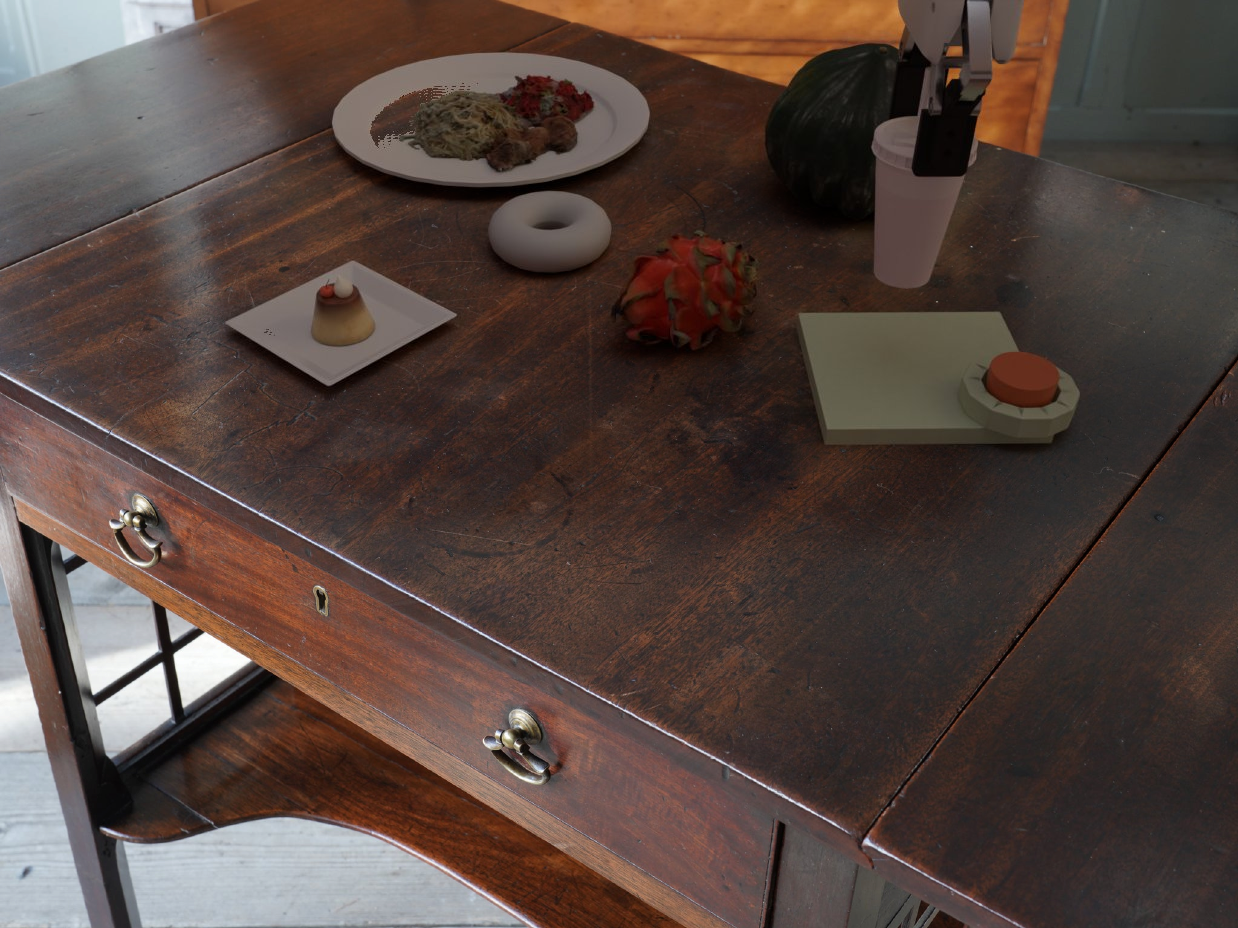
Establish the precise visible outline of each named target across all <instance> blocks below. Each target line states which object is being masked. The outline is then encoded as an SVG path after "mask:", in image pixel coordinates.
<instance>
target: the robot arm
mask: <svg viewBox="0 0 1238 928" xmlns="http://www.w3.org/2000/svg"><path fill="white" fill-rule="evenodd" d="M1024 3H1025V0H897V7H898V11H899V15H900V17H901V20H902V21H903V23H904V26H903V29H902V34H901V38H900V41H899V45H898V49H899V59H900V60H907V62H897V64H896V70H895V77H894V83H893V89H892V96H891V102H890V109H889V115H888V119H889V120H891V119H895V118H900V117H907V116H918V111H919V105H920V99H921V93H922V87H923V81H924V75H925V70H926V68H927V67H931V68H930V84H929V100H928V109H921V114H920V120H919V126H918V132H917V138H916V143H915V149H914V155H913V161H912V167H911V169H912V171H913V174H914V175H915V176H917V177H961V176H963V175H965V176H966V174H967V172H968V168H969V167H968V163H969V158H970V153H971V148H972V143H973V139H974V135H975V133H976V130H977V129H976V128H977V123H978V119H979V116H980V114H981V111H982V106H983V105H982V104H983V98H984V97H985V95H986V93H987V88H988V87H989V85H990V84H991V82H992V80H993V74H994V67H993V65H994V64H993V60H994V61H995V62H996V63H997V64H998V65H1006V64H1008V63H1009V62H1010V61H1011V60H1012V59H1013V58H1014V56H1015V53H1016V48H1017V44H1018V38H1019V32H1020V27H1021V22H1022V15H1023V10H1024ZM950 47H961V52H962V53H961V55H962V56H959V55H957V56H955V55H954V56H951V55H950V56H948V55H947V54H948V51H949V48H950ZM951 69H953V70H955V69H961V70H960V71H959V73H958V78H951V79H950V80H949V82H948V78H949V73H950V70H951ZM965 173H966V174H965Z"/></svg>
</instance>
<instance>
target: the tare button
mask: <svg viewBox="0 0 1238 928" xmlns="http://www.w3.org/2000/svg"><path fill="white" fill-rule="evenodd" d="M1055 366H1056V365H1055V364H1054V363H1052V362H1051V361H1050V360H1049V359H1046V358H1045V357H1043V356H1040V355H1037V354H1034V353H1031V352H1026V351H1019V352H1007V353H1003V354H1000V355H998V356H996V357H995V358H994V359H993V360H992V361H991V363H990V367H989V371H988V375H987V379H986V388H987V390H988V392H989V393H990V395H992V396H993V397H994V398H996V399H997V400H999V401H1000V402H1003V403H1006V404H1010V405H1013V406H1016V407H1020V408H1040V407H1043V406H1047V405H1049V404H1051V403H1052V402H1051V401H1052V400H1053V398H1054V395H1055V392H1056V388H1057V385H1058V381H1059V372H1058V370H1057V368H1058V367H1057V366H1056V367H1057V368H1056V367H1055Z"/></svg>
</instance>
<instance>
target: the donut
mask: <svg viewBox="0 0 1238 928" xmlns="http://www.w3.org/2000/svg"><path fill="white" fill-rule="evenodd" d="M612 229H613V228H612V222H611V220H610V218H609V217H608V215H607V213H606V211H605V209H603V207H601V206H600V205H598V204H597V203H596V202H595V201H594V200H593V199H590V198H588V197H586V196H583V195H580V194H578V193H572V192H568V191H560V190H559V191H558V190H557V191H555V190H543V191H534V192H529V193H525V194H522V195H517V196H515V197H514V198H512V199H509V200H508V201H506V202H504V203H503V204H502V205H501V206H500V207H499V208H497V210H496V211H495V212H494V213H493V214H492V216H491V218H490V222H489V224H488V228H487V235H488V241H489V242H490V245H491V248H492V250H493V251H494V253H495V254H496V255H498V257H500V258H501V259H502V260H503V261H504V262H505V263H507V264H509V265H511V266H513V267H515V268H517V269H520V270H525V271H529V272H534V273H549V274H551V273H552V274H553V273H562V272H570V271H573V270H576V269H580V268H583V267H585V266H587V265H589V264H591V263H593V262H594V261H596V260H597V259H598V258H600V257H601V256H602V254H603V253H604V252H605V251H606V249H607V248H608V246H609V245H610V243H611V242H610V241H611V236H612V235H611V234H612Z"/></svg>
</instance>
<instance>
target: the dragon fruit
mask: <svg viewBox="0 0 1238 928" xmlns="http://www.w3.org/2000/svg"><path fill="white" fill-rule="evenodd" d="M693 235H694V236H696V237H695V238H694V239H689V238H686V237H684V236H683V235H682V234H680V233H676V234H673V235H672V236H671V237H666V238H665V239H663V240H662V241H661V242H660V243H658V244H657V247H656V248H655V250H652V251H648V252H645V253H642V254H640V255H638V256H636V257H634V258H633V260H632V262H631V264H630V267H629V272H628V276H627V279H626V282H625V283H624V284H623V287H622V288H621V290H620V292H619V296H618V298H617V300H616V301H615V302H614V304H613V305H612V306H611V313H610V320H611V322H612V324H615V323H616V322H617V316H619V317H620V319H621V320H622V321H625V322H627V323H629V325H633V326H634V327H633V326H632V327H631V328H628V329H627V330H626V331H625V335H626V337H627V339H628V340H632V341H635V342H639V343H643V344H644V345H653V346H654V345H655V344H659V343H661V342H663V340H668V342H669V344H670V345H673V346H674V347H675V348H677V349H678V348H681V347H683V346H684V345H686V344H688V343H689V348H690V350H691V351H697V350H699V349H702V348H705V347H706V346H707V345H708V344H711V342H713V337H715V336H718V335H719V333H721V332H722V331H724V332H726V333H734V332H738V331H740V330H741V328H742V324H743V322H742V321H743V320H746V319H750V318H752V316H754V314H755V312H756V310H755V309H753V310H752V311H751V310H748V309H747V308H746V306H748V305H750V304H751V303H752V301H753V300H754V299H755V298H757V295H758V291H757V284H756V283H755V282H756V281H757V280H758V278H759V277H758V275H757V273H758V263H759V260H758V259H756V258H755V257H753V256H752V255H751V254H750V253H749V252H746V251H745V252H743V251H742V249H743V244H742V243H739V242H737V241H729V242H727V241H726V240H724V239H723V238H721V237H719V238H717V239H716V240H714V239H712V238H711V237H710V234H709V233H707V232H704V231H702V230H701V229H697V230H695V231H694V232H693ZM731 318H732V319H735V320H738V324H734V322H733V321H732V320H731ZM704 334H705V335H704ZM702 335H704V338H703V340H702Z"/></svg>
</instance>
